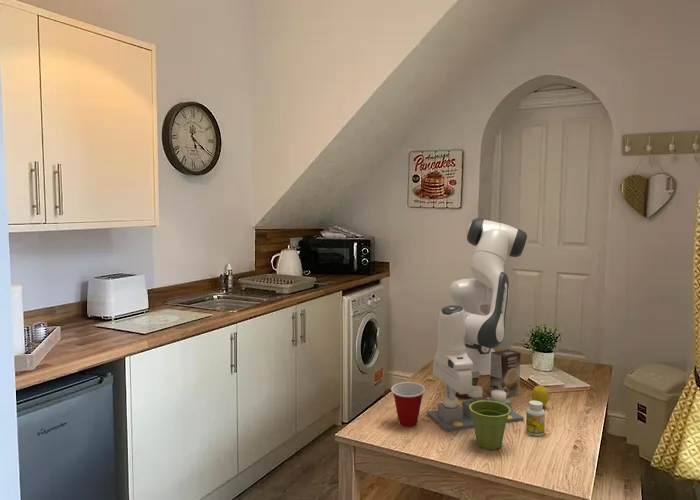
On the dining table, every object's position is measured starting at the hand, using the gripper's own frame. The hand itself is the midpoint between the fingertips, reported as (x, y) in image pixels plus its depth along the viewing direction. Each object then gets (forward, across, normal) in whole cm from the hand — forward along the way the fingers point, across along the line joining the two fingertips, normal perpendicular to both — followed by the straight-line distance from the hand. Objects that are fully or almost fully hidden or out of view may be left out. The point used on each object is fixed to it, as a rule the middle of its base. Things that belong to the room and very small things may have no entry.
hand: (450, 398), depth 179 cm
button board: (+8, 0, +9) cm, 12 cm away
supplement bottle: (+8, +16, +21) cm, 27 cm away
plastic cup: (+8, -2, -14) cm, 16 cm away
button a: (+6, 0, +18) cm, 19 cm away
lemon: (+8, -1, +35) cm, 36 cm away
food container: (+8, -19, +14) cm, 25 cm away
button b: (+4, 0, +9) cm, 10 cm away
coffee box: (+8, -15, +30) cm, 35 cm away
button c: (+6, 0, 0) cm, 6 cm away
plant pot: (+8, +19, +3) cm, 21 cm away
